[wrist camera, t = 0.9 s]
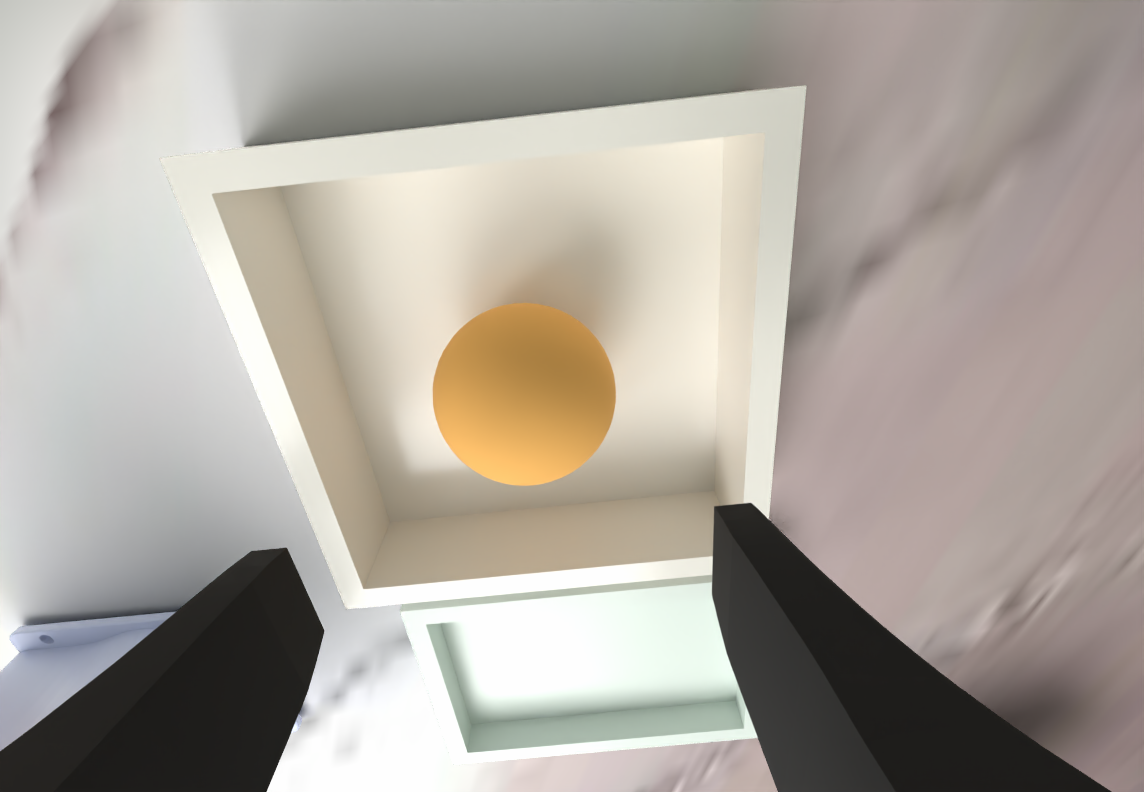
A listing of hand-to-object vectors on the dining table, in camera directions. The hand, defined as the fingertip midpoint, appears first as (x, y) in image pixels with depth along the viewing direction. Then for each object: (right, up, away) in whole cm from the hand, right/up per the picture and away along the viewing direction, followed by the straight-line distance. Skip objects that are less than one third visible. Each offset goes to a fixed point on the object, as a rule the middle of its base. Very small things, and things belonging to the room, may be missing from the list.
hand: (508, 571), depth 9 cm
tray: (+2, -8, +15) cm, 17 cm away
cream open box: (0, +4, +8) cm, 9 cm away
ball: (0, +3, +6) cm, 7 cm away
